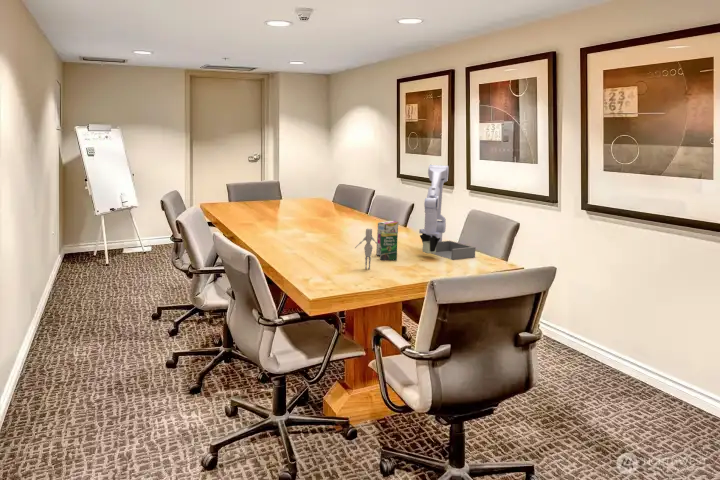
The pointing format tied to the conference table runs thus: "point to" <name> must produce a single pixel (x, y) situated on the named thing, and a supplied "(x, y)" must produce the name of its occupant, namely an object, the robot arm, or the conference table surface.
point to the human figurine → (368, 246)
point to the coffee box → (388, 246)
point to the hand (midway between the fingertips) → (429, 250)
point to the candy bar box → (387, 228)
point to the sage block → (427, 247)
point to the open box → (454, 250)
